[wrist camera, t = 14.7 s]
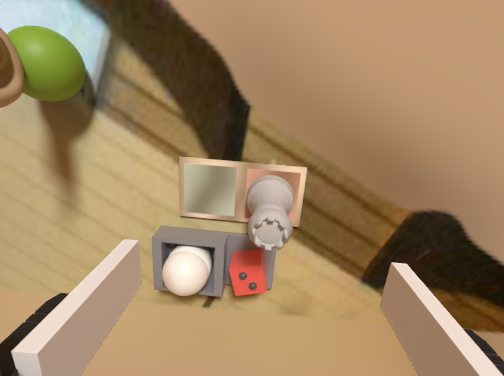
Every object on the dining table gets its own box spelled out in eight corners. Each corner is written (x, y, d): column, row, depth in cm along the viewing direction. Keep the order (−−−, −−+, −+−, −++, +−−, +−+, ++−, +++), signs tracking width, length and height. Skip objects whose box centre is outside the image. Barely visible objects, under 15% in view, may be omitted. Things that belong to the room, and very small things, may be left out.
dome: (172, 274, 29) (155, 303, 25) (171, 237, 27) (153, 262, 23) (213, 278, 29) (202, 309, 24) (214, 242, 27) (203, 267, 23)
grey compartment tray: (163, 274, 30) (148, 298, 26) (161, 225, 28) (145, 244, 24) (271, 286, 29) (271, 312, 26) (277, 237, 28) (277, 257, 24)
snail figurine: (58, 117, 25) (-116, 130, 14) (29, 42, 23) (-199, -13, 12) (111, 106, 25) (-26, 111, 13) (86, 28, 23) (-99, -44, 11)
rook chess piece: (285, 222, 27) (291, 271, 19) (242, 210, 27) (230, 254, 19) (300, 180, 25) (312, 215, 18) (254, 167, 25) (246, 196, 18)
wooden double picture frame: (180, 214, 27) (179, 215, 27) (180, 156, 26) (179, 157, 25) (298, 225, 27) (298, 227, 27) (306, 167, 25) (307, 168, 25)
